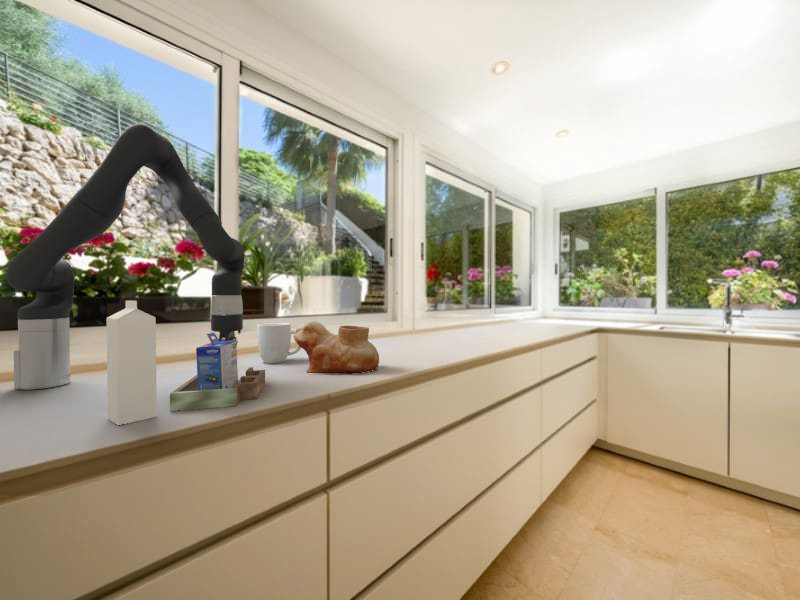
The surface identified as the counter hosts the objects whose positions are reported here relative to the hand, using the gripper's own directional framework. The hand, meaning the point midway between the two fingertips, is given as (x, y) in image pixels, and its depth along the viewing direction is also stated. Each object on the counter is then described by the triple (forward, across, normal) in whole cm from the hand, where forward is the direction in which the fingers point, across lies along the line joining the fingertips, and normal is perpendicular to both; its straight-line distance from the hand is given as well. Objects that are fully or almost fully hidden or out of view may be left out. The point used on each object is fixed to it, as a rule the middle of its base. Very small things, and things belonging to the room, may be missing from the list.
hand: (227, 378), depth 92 cm
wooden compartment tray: (+1, +11, +2) cm, 11 cm away
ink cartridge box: (+1, +14, +1) cm, 14 cm away
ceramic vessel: (+1, -9, +29) cm, 30 cm away
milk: (+1, +25, -11) cm, 27 cm away
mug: (+1, -27, +10) cm, 29 cm away
